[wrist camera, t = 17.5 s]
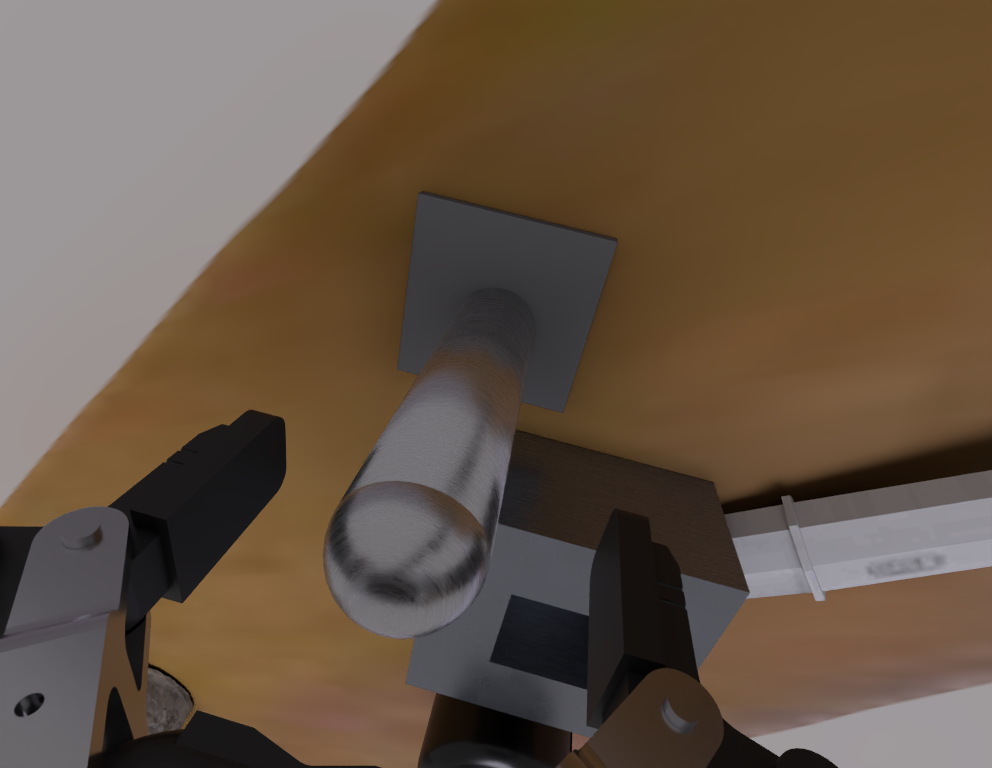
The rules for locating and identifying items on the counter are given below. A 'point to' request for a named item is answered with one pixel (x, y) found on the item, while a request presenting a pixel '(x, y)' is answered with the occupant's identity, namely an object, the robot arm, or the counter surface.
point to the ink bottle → (488, 738)
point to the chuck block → (572, 580)
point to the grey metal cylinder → (435, 479)
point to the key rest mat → (504, 285)
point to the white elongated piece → (866, 536)
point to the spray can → (165, 703)
